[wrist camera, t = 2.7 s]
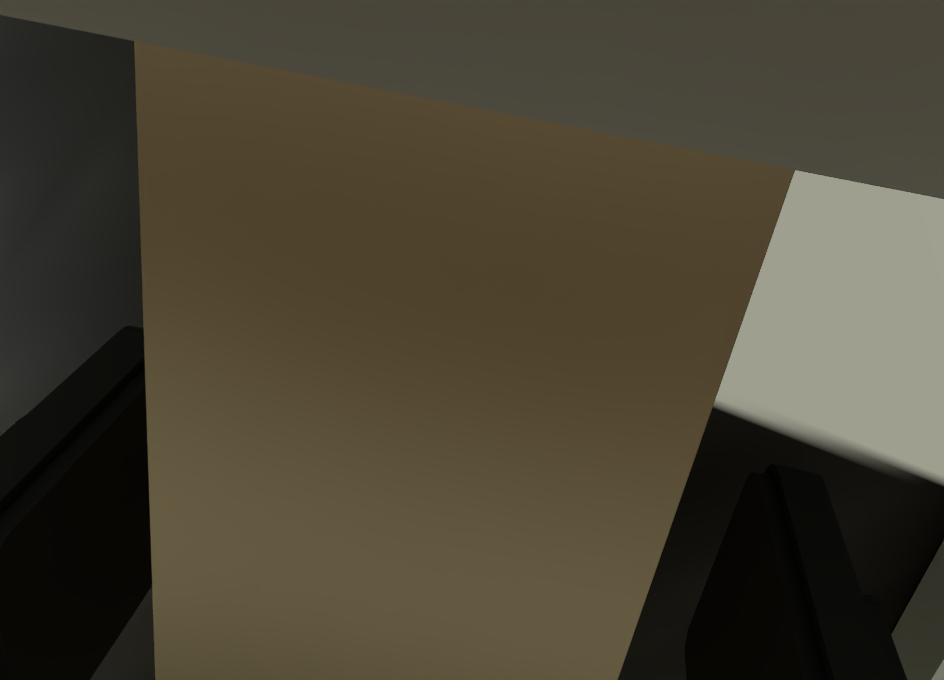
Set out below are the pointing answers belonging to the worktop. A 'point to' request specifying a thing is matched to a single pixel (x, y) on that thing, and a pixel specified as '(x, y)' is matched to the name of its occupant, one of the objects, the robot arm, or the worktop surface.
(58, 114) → the worktop surface
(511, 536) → the light brown wooden block
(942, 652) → the board
